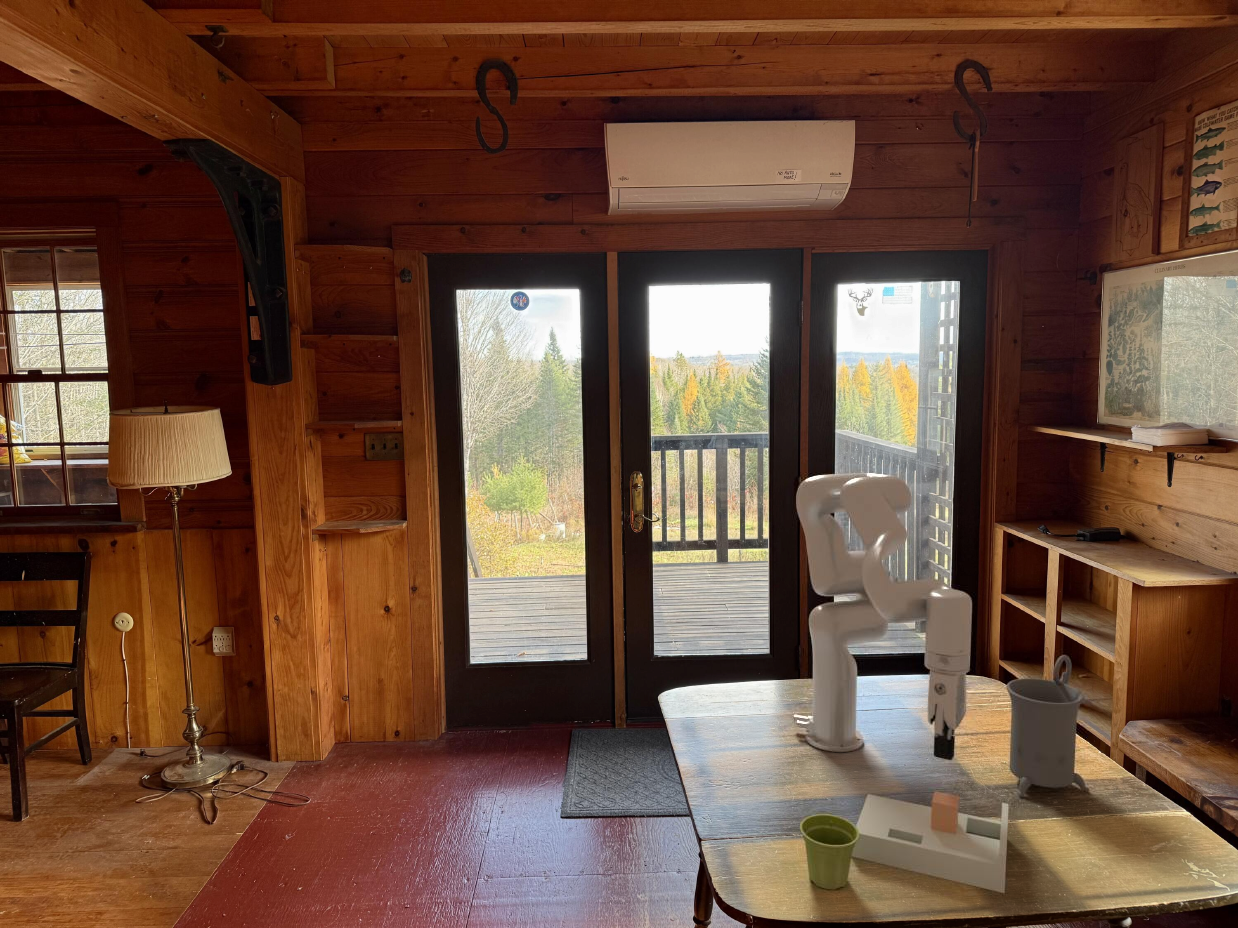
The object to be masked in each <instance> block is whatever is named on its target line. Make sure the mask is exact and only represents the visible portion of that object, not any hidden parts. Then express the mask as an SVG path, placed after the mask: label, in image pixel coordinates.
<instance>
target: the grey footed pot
mask: <svg viewBox="0 0 1238 928" xmlns="http://www.w3.org/2000/svg"><path fill="white" fill-rule="evenodd" d="M1063 662H1065V671H1064V672H1062V673H1061V677H1060V675H1059V674H1060V670H1061V669H1060V668H1061V666H1062V663H1063ZM1072 666H1073V665H1072V660H1071V659H1070V657H1069V656H1068V655H1066V654H1062V655H1060V656H1059V657H1058V659H1057V660H1056V661H1055V664H1054V667H1053V673H1052V674H1053V680H1050V679H1045V678H1036V677H1035V678H1033V677H1032V678H1031V677H1030V678H1029V677H1028V678H1016V679H1013V680H1010V681H1009V682H1008V683H1007V684H1006V685H1005V689H1006V691H1007V692H1008V695H1009V698H1010V703H1011V704H1010V705H1011V717H1010V742H1009V743H1010V746H1009V771H1010V772H1011V774H1012V775H1013V776H1015V778H1017V779H1019V780H1020V781H1019V786H1018V788H1019V789H1018V790H1019V792H1018V793H1017V796H1018V797H1019V798H1022V797H1023V796H1024V795H1025V794H1026V792H1027V790H1028V789H1029V788H1030V787H1031V786H1032V785H1035V786H1039V787H1043V788H1044V787H1045V788H1064V787H1068V786H1070V785H1072V784H1073V783H1074V784H1076V785H1077V786H1078V787H1079V789H1081V790H1082V791H1083V792H1087V793H1089V792H1090V788H1089V787H1088V786H1086V783H1085V780H1084V778H1083V777H1082V776H1081V775H1080V774H1078V773H1077V772H1075V767H1076V765H1075V762H1076V744H1077V720H1078V713H1079V709H1080V706H1081V704H1082V703H1083V702H1084V701H1085V696H1084V694H1083V692H1081V691H1080V690H1079V689H1078V688H1076V687H1073V686H1071V685H1069V681H1070V679H1071V675H1072Z"/></svg>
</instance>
